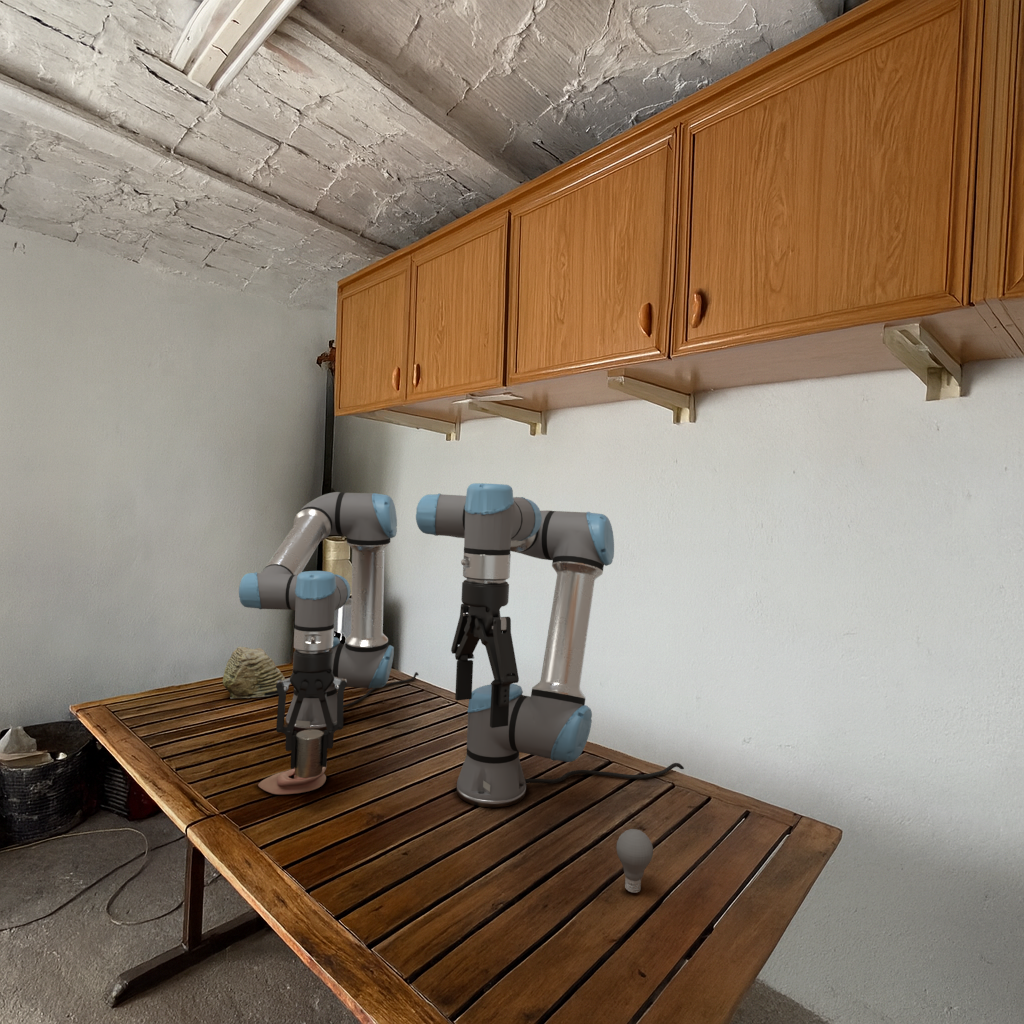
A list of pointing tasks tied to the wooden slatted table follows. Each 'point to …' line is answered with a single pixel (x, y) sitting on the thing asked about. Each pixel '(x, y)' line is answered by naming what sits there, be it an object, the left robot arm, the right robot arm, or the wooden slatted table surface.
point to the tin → (309, 753)
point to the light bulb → (634, 857)
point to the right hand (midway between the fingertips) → (480, 712)
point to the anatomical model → (291, 783)
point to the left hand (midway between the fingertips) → (308, 764)
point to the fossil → (251, 674)
